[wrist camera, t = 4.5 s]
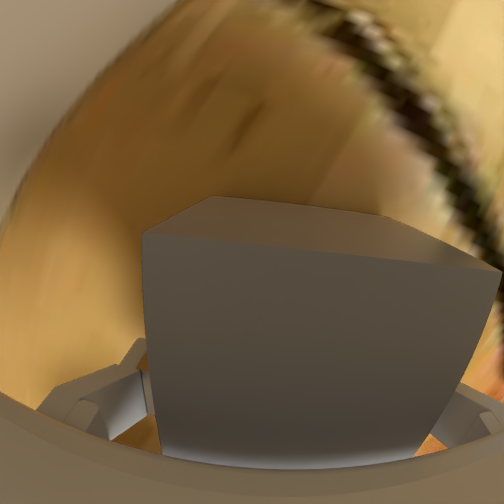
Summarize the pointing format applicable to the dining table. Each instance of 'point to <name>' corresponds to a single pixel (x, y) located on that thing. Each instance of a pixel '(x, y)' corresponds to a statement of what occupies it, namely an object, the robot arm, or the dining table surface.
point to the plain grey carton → (304, 333)
